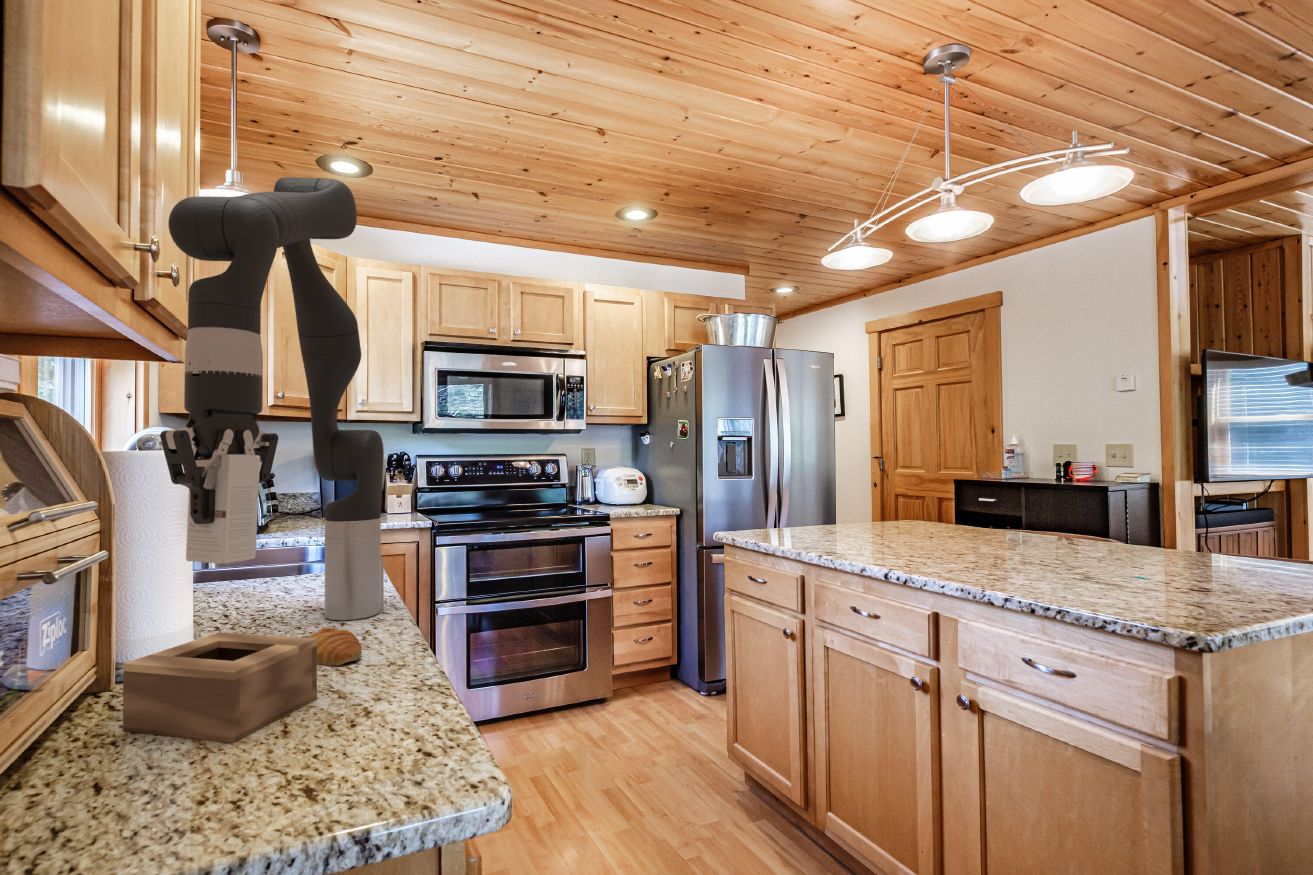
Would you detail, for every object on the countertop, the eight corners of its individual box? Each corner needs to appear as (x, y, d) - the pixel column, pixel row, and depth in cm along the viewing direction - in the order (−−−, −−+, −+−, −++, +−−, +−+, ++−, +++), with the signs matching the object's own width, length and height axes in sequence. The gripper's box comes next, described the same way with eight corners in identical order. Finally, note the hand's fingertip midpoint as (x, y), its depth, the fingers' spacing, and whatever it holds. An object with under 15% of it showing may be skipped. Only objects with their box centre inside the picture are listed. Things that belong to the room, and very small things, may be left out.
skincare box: (183, 562, 74) (184, 454, 75) (220, 556, 79) (221, 454, 79) (224, 564, 73) (225, 454, 73) (260, 558, 77) (261, 453, 77)
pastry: (374, 660, 95) (374, 633, 95) (325, 673, 89) (325, 644, 89) (344, 647, 101) (344, 622, 101) (297, 659, 96) (297, 632, 96)
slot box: (219, 690, 83) (219, 632, 83) (316, 698, 80) (316, 638, 80) (123, 730, 71) (123, 663, 71) (233, 742, 68) (233, 672, 68)
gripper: (248, 379, 84) (247, 515, 84) (137, 365, 70) (135, 527, 70) (299, 378, 82) (298, 516, 82) (195, 362, 68) (194, 528, 68)
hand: (223, 520), depth 76 cm, fingers closed on skincare box, 4 cm apart
